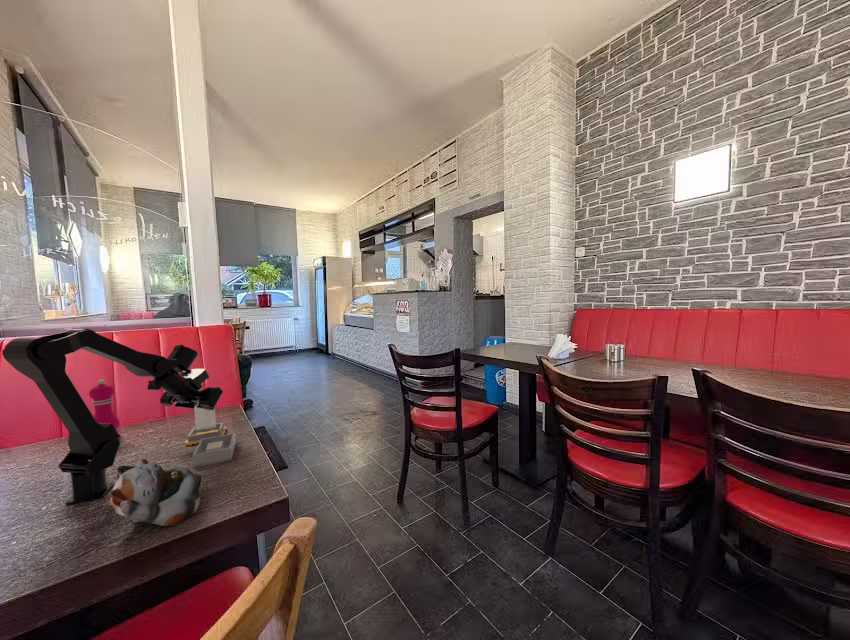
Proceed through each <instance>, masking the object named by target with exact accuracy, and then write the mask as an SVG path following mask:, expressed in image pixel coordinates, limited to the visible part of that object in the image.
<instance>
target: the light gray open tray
mask: <svg viewBox="0 0 850 640" xmlns="http://www.w3.org/2000/svg"><path fill="white" fill-rule="evenodd" d="M235 445H237V438H236V432H234V433H233V432H232V433H228V434H224V435H221V436H215V437H209V438H203V439H201V440H200V442H199V444H197V446H196V447H195V449H194V451H193V454H192V467H193V468H199V467H204V466H209V465H216V464H220V463H221V464H222V463H225V461H226V462H230V460H231V461H232V460H233V457H234V453H235V450H236V449H235V448H236V446H235ZM234 449H235V450H234ZM232 456H233V457H232Z"/></svg>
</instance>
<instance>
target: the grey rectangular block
mask: <svg viewBox="0 0 850 640" xmlns="http://www.w3.org/2000/svg"><path fill="white" fill-rule="evenodd" d="M203 389H204V388H201V389H199V390H198V391H202V390H203ZM198 404H199V400H198V401H194V409H193V410H194V423H195V425H194V427H196V432H208V431H210V430H212V429H214V428H216V424H217V421H216V420H217V419H216V408H214V410H207V409H202V408H197V406H198Z"/></svg>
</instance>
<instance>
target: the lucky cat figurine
mask: <svg viewBox="0 0 850 640" xmlns="http://www.w3.org/2000/svg"><path fill="white" fill-rule="evenodd" d="M201 482H202V474H198V473H193V472H192V470H190V469H189V468H188V467H187V468H186V467H183V466H180V467H179V466H178V467H174V468H171V469H167V470H165V469H163V467H162V466H161V465H160V464H159V463H156V462H155V463H154V462H148V460H147V459H146V458H140V459H138V461H137V462H136V464H135V465H133V466H130V465H120V466H118V468H117V474H116V481H115V483H114V485H113V488H112V490H111V491H109V495H108V496H110V499H109V504H110V507H112V508H114V510H115V511H114V512H115V513H116V514H117V515H119V516H121V517H123V518H126V519H130V520H132V521H133V523H139V522H140V523H145V524H146V523H147V524H155V525H157V526H161V527H174V526H175V525H178V524H180V523H181V522H183V521H185V520H187V519H188V518H190V517H191V516H192V515H193V514H194V513H196V512H197V511H198V510H199V506H200V504H201V497H200V493H199V492H200V487H201Z"/></svg>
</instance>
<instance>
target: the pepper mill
mask: <svg viewBox="0 0 850 640" xmlns="http://www.w3.org/2000/svg"><path fill="white" fill-rule="evenodd" d="M105 382H106V381H105V380H104V379H99V380H97V381H96V383H97V384H96V385H94V386H92V387H91V388H90V389H89V392H88V396H89V397H90V398H91V399H92V401H91V402H92V404H91V405H92V406H94V415H93V417H94V418H95V420H96V421H97V422H98V423H106V424H113V426H114V427H115V430H116V432H117V434H119V430H118V428H119V427H120V424H121V423H120V419H119V418H118V416H117V415H116V414H115V413H114V411H113V409H112V403H113V402H114V398H113V395H114V393H115V388H114V386H113V385H111V384H108V383H105ZM119 435H120V434H119Z"/></svg>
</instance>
